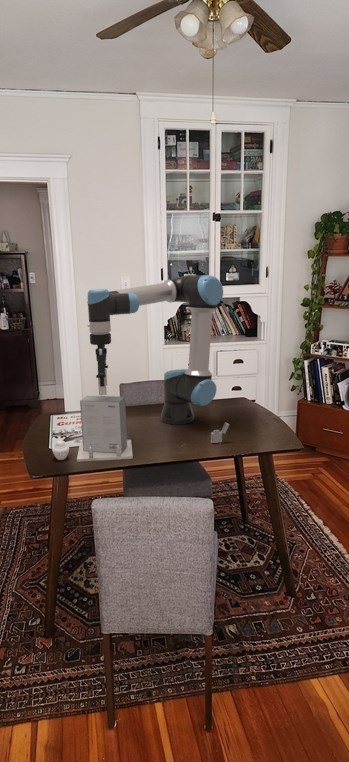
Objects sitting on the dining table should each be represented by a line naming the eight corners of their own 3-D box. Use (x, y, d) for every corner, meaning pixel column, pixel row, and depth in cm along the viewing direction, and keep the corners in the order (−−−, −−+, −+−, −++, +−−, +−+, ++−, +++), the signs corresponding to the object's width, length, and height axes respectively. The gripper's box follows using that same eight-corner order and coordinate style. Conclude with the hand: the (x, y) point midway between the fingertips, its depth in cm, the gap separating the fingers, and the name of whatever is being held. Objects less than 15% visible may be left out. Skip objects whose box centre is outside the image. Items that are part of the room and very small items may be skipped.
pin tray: (131, 442, 196) (130, 430, 194) (132, 458, 179) (132, 445, 177) (80, 444, 193) (79, 432, 192) (77, 461, 176) (76, 448, 175)
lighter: (212, 444, 192) (212, 424, 191) (210, 442, 194) (210, 423, 192) (229, 442, 194) (229, 423, 192) (227, 441, 196) (228, 422, 194)
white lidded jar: (49, 460, 178) (48, 442, 176) (59, 454, 183) (57, 436, 182) (64, 462, 176) (62, 444, 174) (73, 456, 181) (72, 438, 180)
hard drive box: (127, 446, 188) (126, 396, 183) (122, 453, 181) (120, 401, 176) (89, 444, 191) (86, 394, 186) (82, 451, 184) (79, 400, 179)
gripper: (91, 328, 187) (94, 382, 192) (87, 338, 163) (91, 399, 168) (110, 328, 188) (113, 381, 193) (110, 337, 164) (113, 398, 169)
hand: (103, 390), depth 181 cm, fingers open, 13 cm apart
